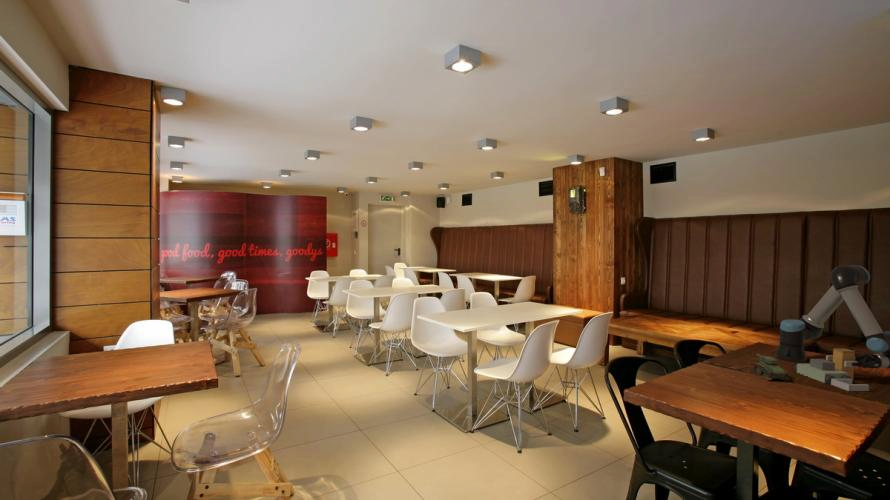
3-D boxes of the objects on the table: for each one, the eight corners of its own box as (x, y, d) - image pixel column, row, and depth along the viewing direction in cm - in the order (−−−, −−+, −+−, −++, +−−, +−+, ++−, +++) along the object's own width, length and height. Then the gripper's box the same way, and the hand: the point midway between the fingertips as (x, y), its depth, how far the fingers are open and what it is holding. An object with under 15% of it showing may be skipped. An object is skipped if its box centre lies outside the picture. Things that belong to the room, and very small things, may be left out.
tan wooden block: (831, 376, 233) (833, 348, 232) (843, 376, 234) (845, 348, 233) (840, 379, 228) (842, 351, 227) (853, 379, 229) (855, 351, 228)
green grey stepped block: (793, 371, 239) (794, 355, 239) (815, 371, 240) (816, 355, 240) (846, 391, 210) (848, 372, 210) (871, 391, 211) (872, 372, 211)
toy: (766, 371, 239) (767, 353, 239) (789, 382, 221) (790, 363, 220) (747, 370, 240) (748, 352, 240) (768, 381, 222) (769, 362, 221)
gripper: (897, 374, 221) (856, 374, 219) (853, 361, 243) (816, 361, 241) (898, 360, 221) (857, 360, 219) (854, 348, 243) (816, 348, 241)
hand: (835, 360), depth 230 cm, fingers open, 9 cm apart
